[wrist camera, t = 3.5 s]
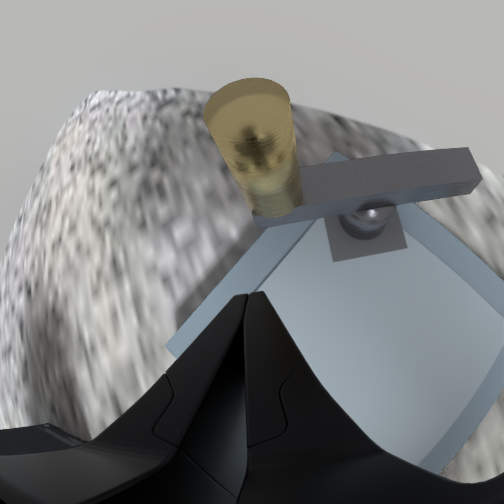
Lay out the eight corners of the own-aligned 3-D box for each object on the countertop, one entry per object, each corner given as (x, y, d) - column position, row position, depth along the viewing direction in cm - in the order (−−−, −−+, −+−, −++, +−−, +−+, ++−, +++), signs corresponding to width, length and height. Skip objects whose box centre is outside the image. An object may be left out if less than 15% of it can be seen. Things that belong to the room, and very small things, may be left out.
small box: (45, 419, 19) (-47, 426, 9) (95, 443, 18) (-8, 470, 8) (58, 505, 16) (-15, 530, 6) (108, 533, 15) (33, 576, 5)
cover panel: (379, 509, 12) (385, 525, 10) (178, 345, 19) (162, 345, 16) (522, 320, 14) (540, 316, 12) (335, 165, 20) (336, 146, 18)
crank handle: (452, 224, 15) (540, 121, 5) (266, 258, 16) (205, 154, 7) (437, 182, 16) (501, 65, 6) (260, 211, 17) (202, 85, 8)
